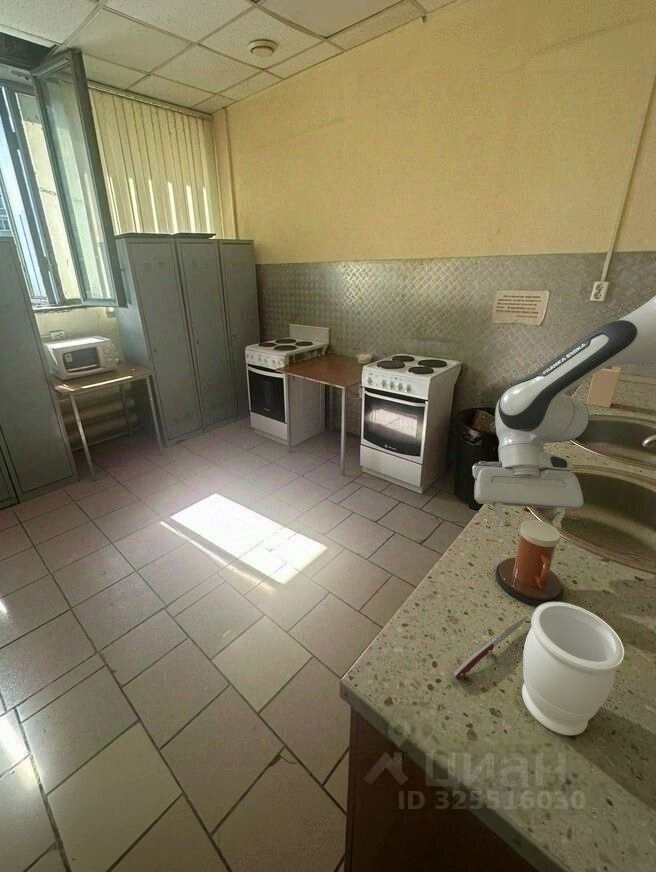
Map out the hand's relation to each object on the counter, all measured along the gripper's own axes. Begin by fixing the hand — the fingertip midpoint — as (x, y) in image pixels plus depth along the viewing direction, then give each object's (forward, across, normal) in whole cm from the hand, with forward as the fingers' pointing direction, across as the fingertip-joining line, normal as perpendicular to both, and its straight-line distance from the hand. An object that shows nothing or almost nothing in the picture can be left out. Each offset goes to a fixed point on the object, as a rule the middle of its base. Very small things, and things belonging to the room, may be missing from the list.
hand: (530, 528), depth 80 cm
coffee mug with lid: (+10, 0, +4) cm, 10 cm away
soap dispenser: (-73, +71, +88) cm, 135 cm away
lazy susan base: (+10, 0, +5) cm, 11 cm away
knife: (+22, -11, -7) cm, 26 cm away
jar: (+28, -5, -13) cm, 31 cm away
